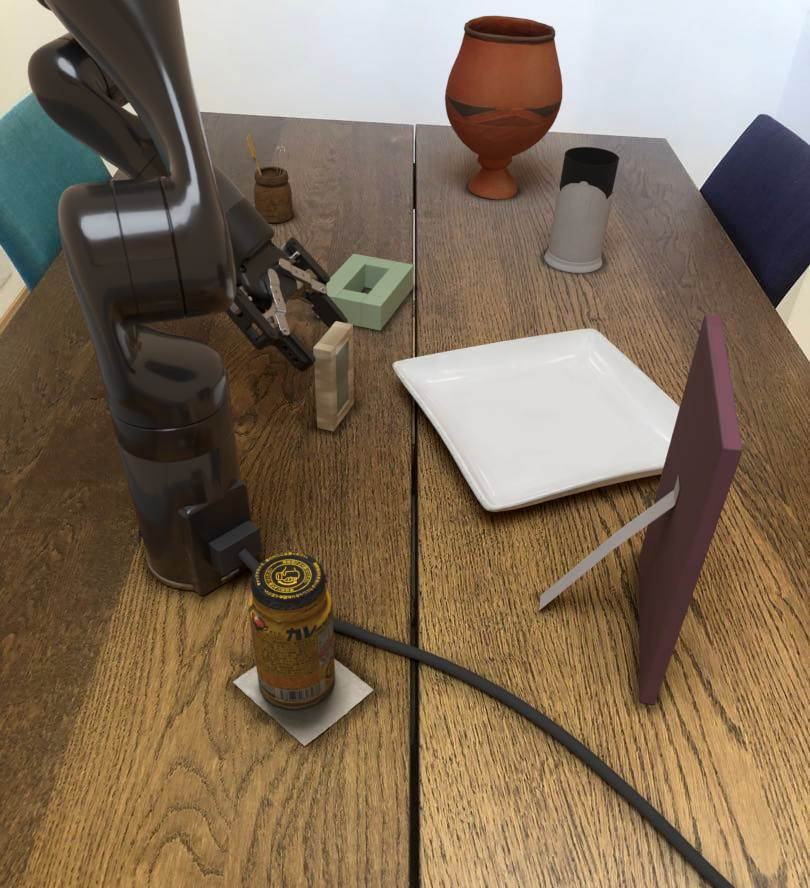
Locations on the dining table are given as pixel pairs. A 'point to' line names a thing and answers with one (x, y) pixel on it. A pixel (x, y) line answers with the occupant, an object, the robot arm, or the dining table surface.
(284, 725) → the condiment
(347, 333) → the frame
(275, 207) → the utensil holder
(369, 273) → the holder
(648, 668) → the picture frame
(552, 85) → the goblet
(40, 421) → the dining table surface
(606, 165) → the glass holder
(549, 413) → the square plate
